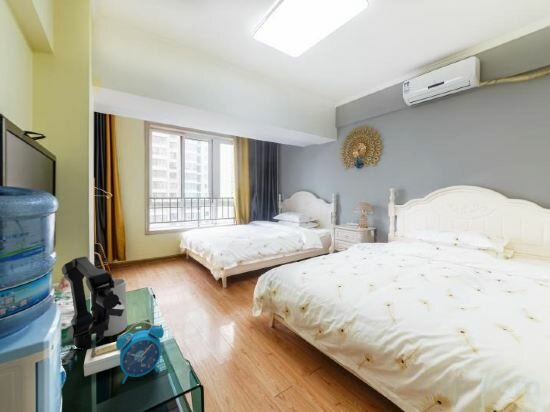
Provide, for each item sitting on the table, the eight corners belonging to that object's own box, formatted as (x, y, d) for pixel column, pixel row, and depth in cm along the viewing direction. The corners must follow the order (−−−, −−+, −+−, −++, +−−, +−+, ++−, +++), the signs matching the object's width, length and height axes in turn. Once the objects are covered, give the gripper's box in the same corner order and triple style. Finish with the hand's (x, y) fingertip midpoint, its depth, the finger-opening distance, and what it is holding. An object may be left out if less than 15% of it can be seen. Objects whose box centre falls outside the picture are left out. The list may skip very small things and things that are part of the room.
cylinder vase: (132, 323, 131) (131, 279, 129) (115, 337, 119) (113, 288, 117) (111, 322, 132) (109, 278, 131) (92, 336, 120) (89, 287, 118)
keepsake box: (129, 348, 111) (128, 334, 111) (129, 361, 102) (128, 347, 102) (87, 360, 103) (86, 346, 102) (84, 376, 94) (83, 360, 94)
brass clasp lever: (123, 343, 106) (123, 341, 106) (123, 347, 104) (123, 345, 104) (96, 351, 101) (96, 349, 101) (95, 356, 99) (95, 353, 99)
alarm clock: (116, 390, 88) (114, 338, 86) (118, 372, 97) (115, 324, 95) (166, 373, 96) (165, 325, 95) (163, 357, 105) (162, 313, 104)
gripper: (122, 306, 96) (124, 343, 97) (122, 289, 112) (124, 322, 113) (87, 314, 90) (89, 353, 92) (93, 295, 106) (94, 329, 107)
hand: (101, 338), depth 101 cm, fingers closed
